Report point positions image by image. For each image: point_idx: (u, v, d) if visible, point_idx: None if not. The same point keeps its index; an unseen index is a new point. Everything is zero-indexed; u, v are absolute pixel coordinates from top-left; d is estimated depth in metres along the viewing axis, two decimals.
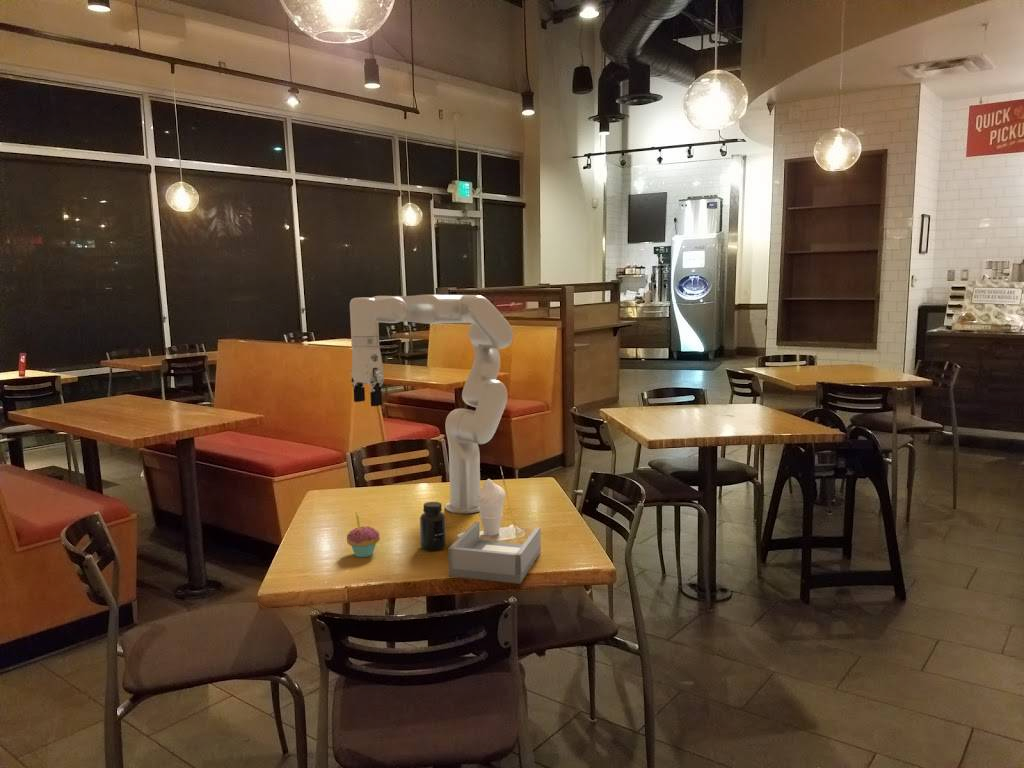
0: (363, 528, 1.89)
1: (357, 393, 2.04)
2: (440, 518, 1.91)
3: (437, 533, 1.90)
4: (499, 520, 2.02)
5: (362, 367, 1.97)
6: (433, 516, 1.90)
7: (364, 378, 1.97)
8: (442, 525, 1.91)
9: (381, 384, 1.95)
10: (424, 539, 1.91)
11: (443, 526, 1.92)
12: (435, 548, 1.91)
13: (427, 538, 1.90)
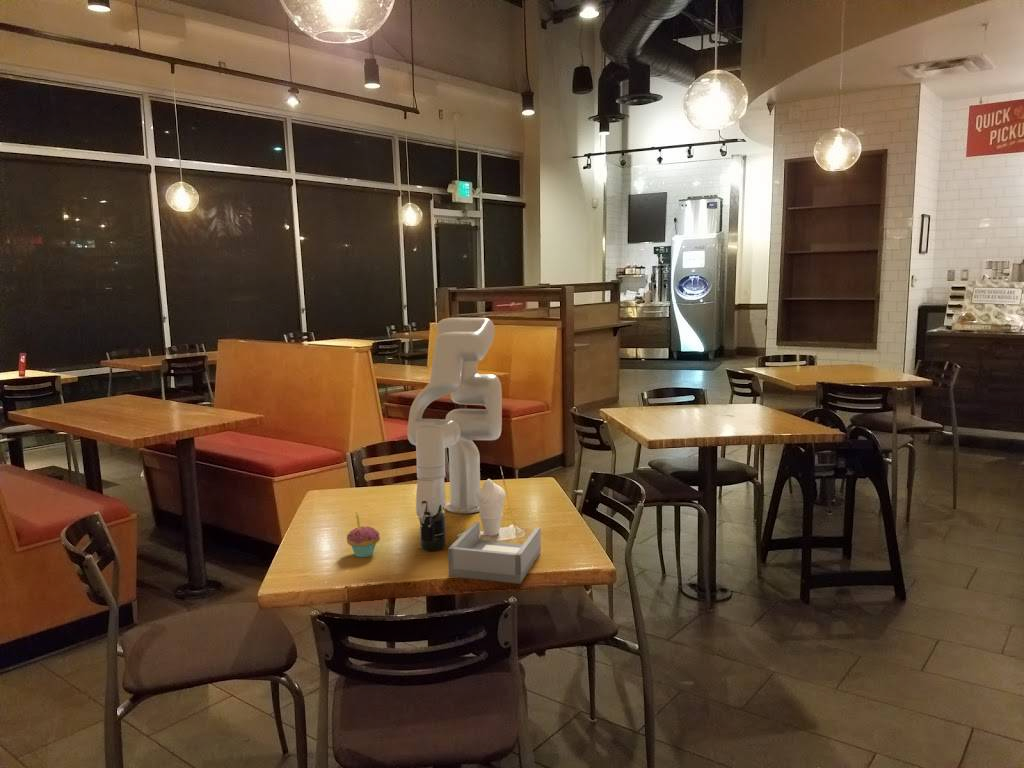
0: (363, 528, 1.89)
1: None
2: (440, 518, 1.91)
3: (437, 533, 1.90)
4: (499, 520, 2.02)
5: (443, 493, 1.94)
6: (433, 516, 1.90)
7: (443, 504, 1.94)
8: (442, 525, 1.91)
9: None
10: None
11: (443, 526, 1.92)
12: (435, 548, 1.91)
13: None
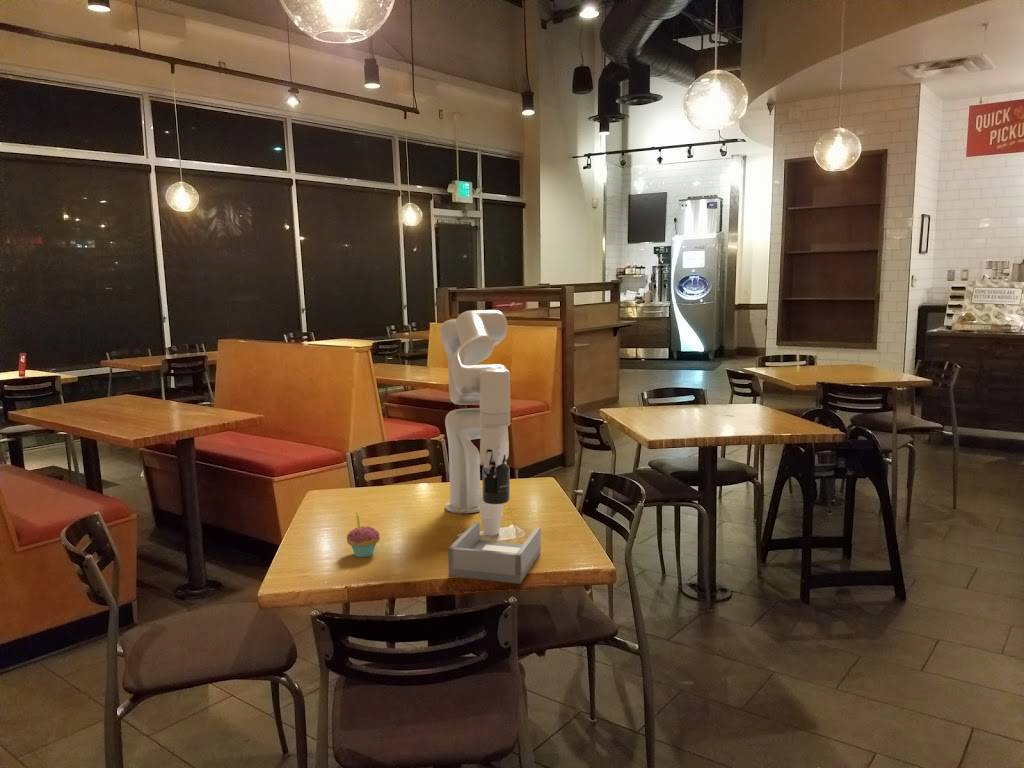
0: (363, 528, 1.89)
1: None
2: (505, 469, 1.77)
3: (502, 484, 1.77)
4: (499, 520, 2.02)
5: (507, 443, 1.80)
6: None
7: (507, 454, 1.81)
8: (507, 477, 1.78)
9: None
10: None
11: (508, 477, 1.78)
12: (499, 501, 1.77)
13: None
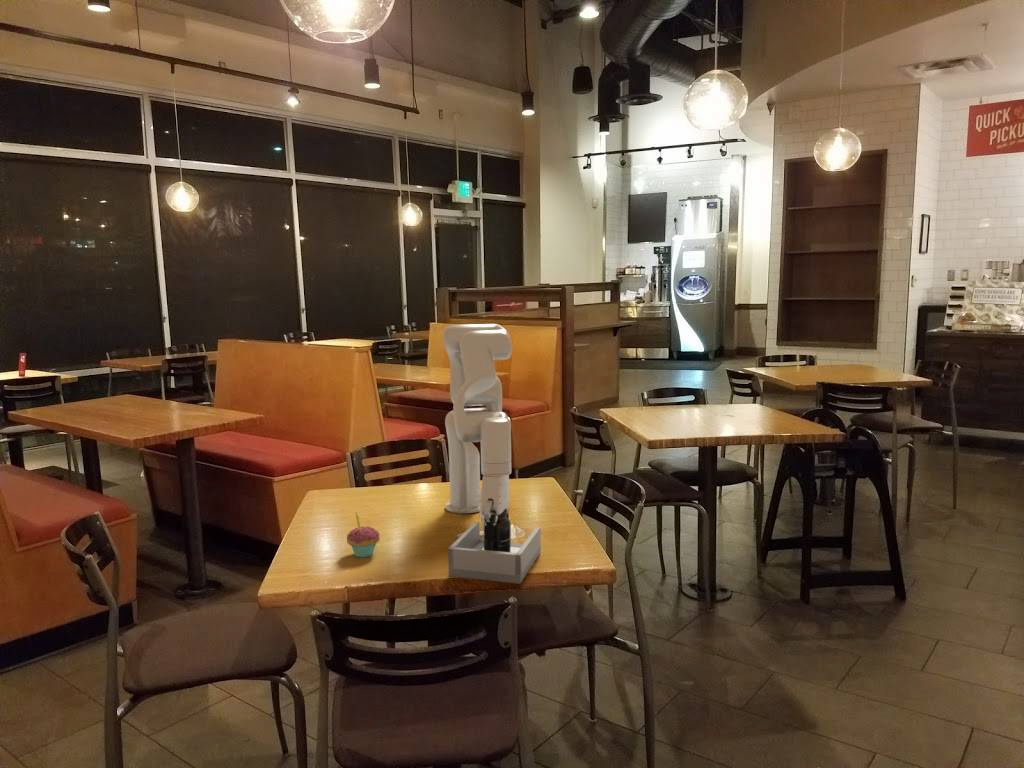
0: (363, 528, 1.89)
1: None
2: (506, 524, 1.80)
3: (503, 539, 1.79)
4: None
5: (508, 490, 1.82)
6: (499, 521, 1.79)
7: (507, 502, 1.83)
8: (508, 531, 1.80)
9: None
10: (489, 545, 1.80)
11: (509, 532, 1.81)
12: None
13: (492, 545, 1.79)
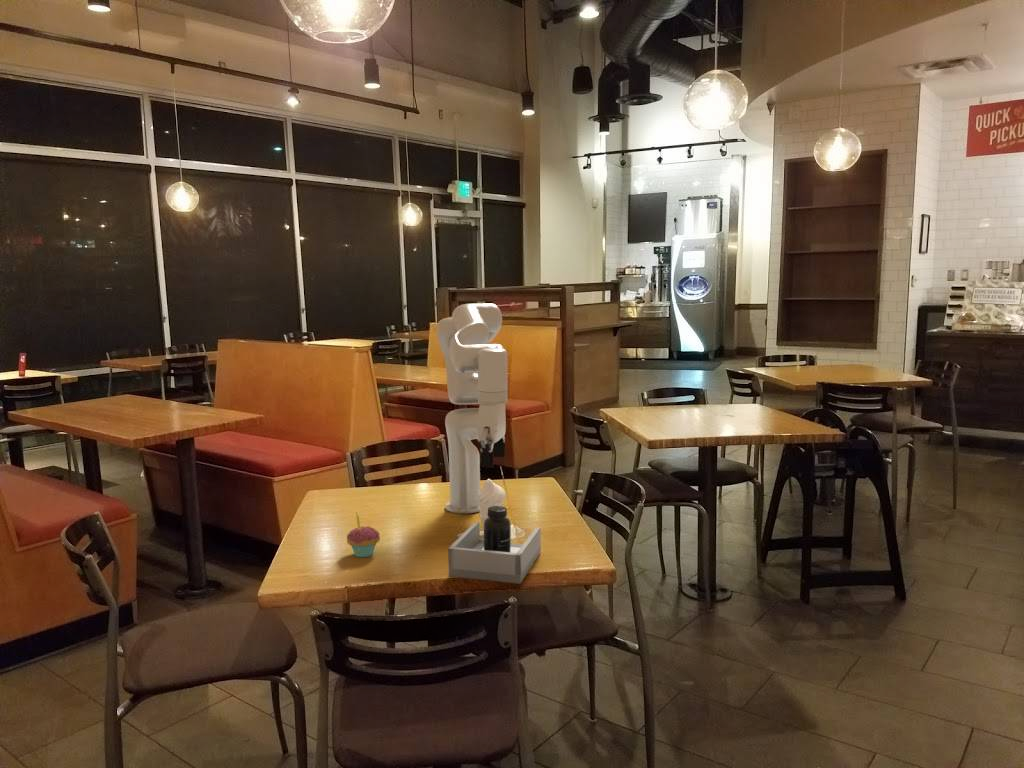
0: (363, 528, 1.89)
1: None
2: (506, 524, 1.80)
3: (503, 539, 1.79)
4: None
5: (504, 420, 1.86)
6: (499, 521, 1.79)
7: (504, 431, 1.87)
8: (508, 531, 1.80)
9: None
10: (489, 546, 1.80)
11: (509, 532, 1.81)
12: None
13: (492, 545, 1.79)
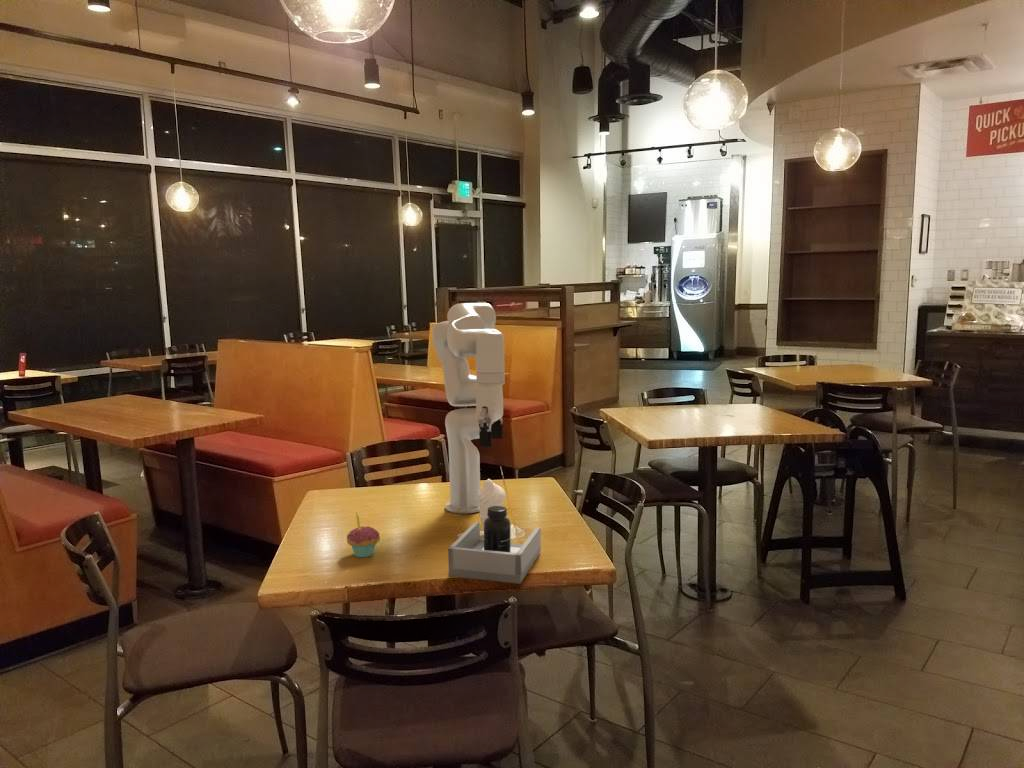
0: (363, 528, 1.89)
1: None
2: (506, 524, 1.80)
3: (503, 539, 1.79)
4: None
5: (501, 402, 1.92)
6: (499, 521, 1.79)
7: (501, 413, 1.92)
8: (508, 531, 1.80)
9: None
10: (489, 546, 1.80)
11: (509, 532, 1.81)
12: None
13: (492, 545, 1.79)
